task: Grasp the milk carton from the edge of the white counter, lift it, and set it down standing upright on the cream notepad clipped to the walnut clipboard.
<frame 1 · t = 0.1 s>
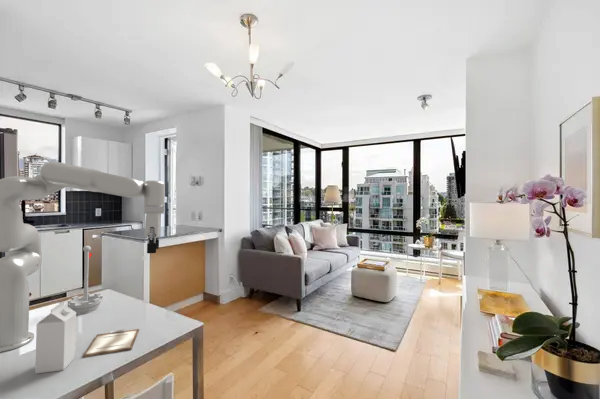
hand: (153, 250, 114), 31 cm above the table, tool pointing down, fingers open, 9 cm apart
clipboard: (113, 342, 100), on the table
milk carton: (56, 366, 86), on the table
flag stand: (85, 309, 128), on the table
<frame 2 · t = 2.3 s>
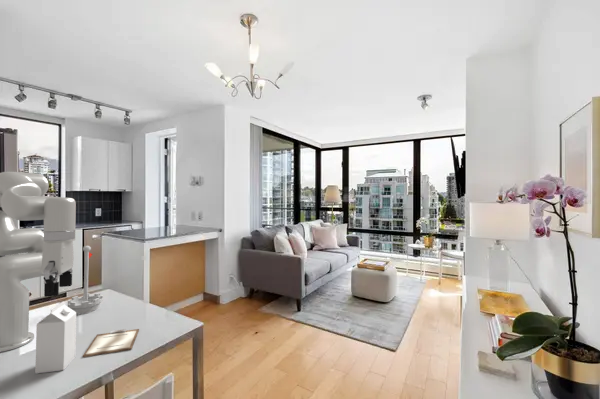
hand: (58, 290, 85), 24 cm above the table, tool pointing down, fingers open, 9 cm apart
nothing on the table moved.
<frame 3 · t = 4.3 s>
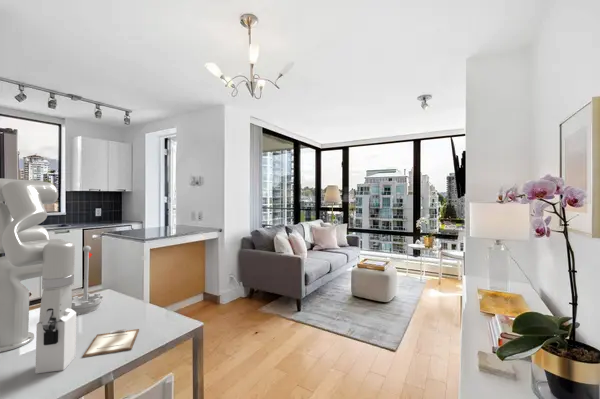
hand: (57, 337, 86), 9 cm above the table, tool pointing down, fingers closed on milk carton, 7 cm apart
milk carton: (56, 366, 86), on the table, touching gripper
everything else where it was.
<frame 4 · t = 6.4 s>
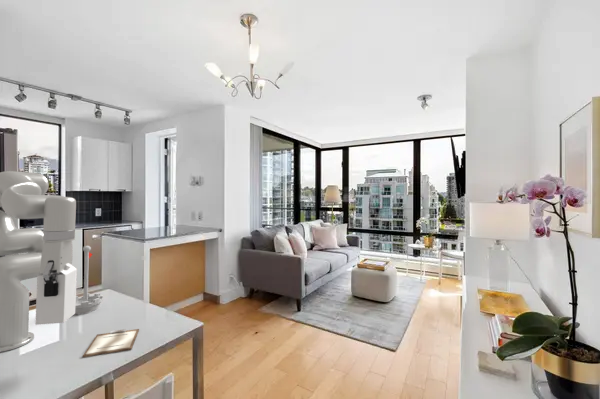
hand: (57, 291, 86), 23 cm above the table, tool pointing down, fingers closed on milk carton, 7 cm apart
milk carton: (56, 319, 86), point 14 cm above the table, touching gripper
everything else where it was.
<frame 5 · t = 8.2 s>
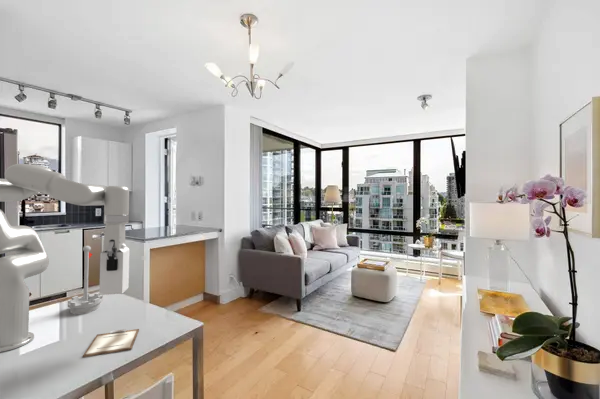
hand: (115, 267, 100), 28 cm above the table, tool pointing down, fingers closed on milk carton, 7 cm apart
milk carton: (114, 292, 100), point 19 cm above the table, touching gripper
everything else where it was.
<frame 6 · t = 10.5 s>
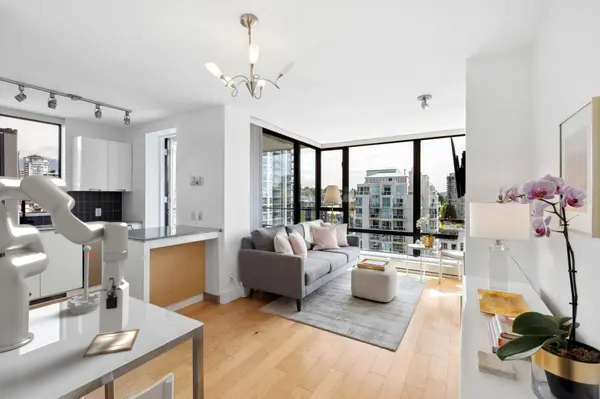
hand: (114, 303, 100), 14 cm above the table, tool pointing down, fingers closed on milk carton, 7 cm apart
milk carton: (114, 328, 100), point 5 cm above the table, touching gripper
everything else where it was.
when the fingers open (11 cm above the table, at t = 12.3 s): milk carton drops 1 cm, resting on clipboard.
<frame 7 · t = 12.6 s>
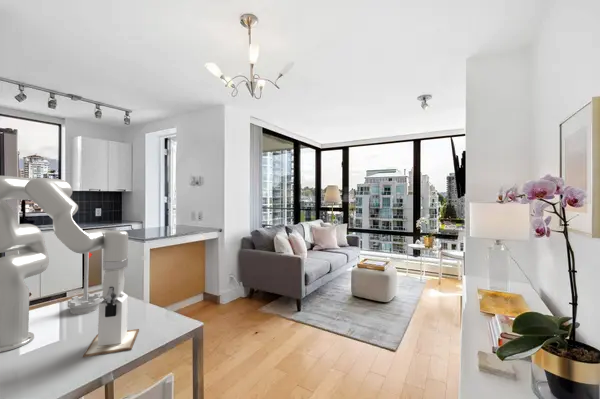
hand: (114, 311, 100), 12 cm above the table, tool pointing down, fingers open, 9 cm apart
milk carton: (112, 340, 100), point 1 cm above the table, touching clipboard
everything else where it was.
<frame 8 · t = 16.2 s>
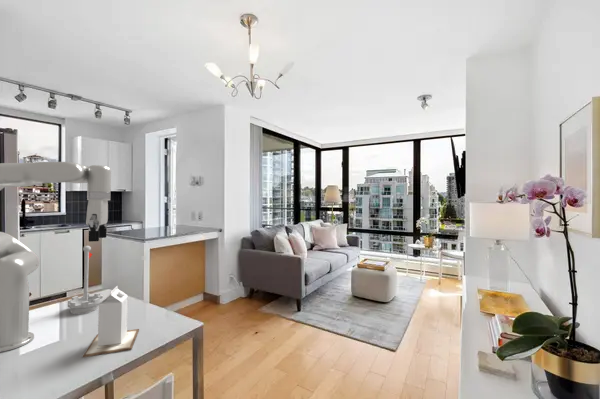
hand: (97, 239, 109), 36 cm above the table, tool pointing down, fingers open, 9 cm apart
nothing on the table moved.
at the end: milk carton inside the target area on the clipboard (0.6 cm from its centre), point 0.6 cm above the clipboard's base; milk carton tilted 0°; the gripper is holding nothing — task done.
